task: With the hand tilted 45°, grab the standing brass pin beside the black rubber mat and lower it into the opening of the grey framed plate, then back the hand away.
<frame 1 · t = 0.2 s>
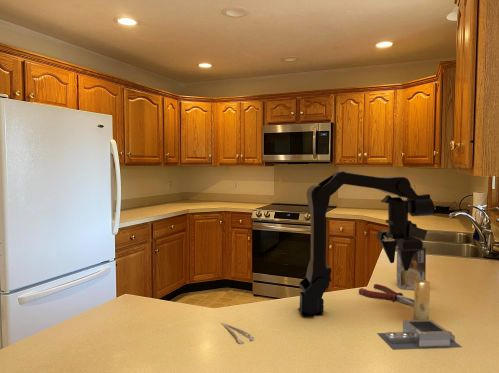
hand: (398, 266, 113), 14 cm above the worktop, tool pointing down, fingers open, 9 cm apart
coffee box: (410, 287, 139), on the worktop
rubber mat: (417, 342, 93), on the worktop
tweezers: (230, 332, 100), on the worktop
pliers: (386, 300, 126), on the worktop
brass pin: (421, 324, 105), on the worktop
grey framed plate: (425, 339, 94), resting on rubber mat
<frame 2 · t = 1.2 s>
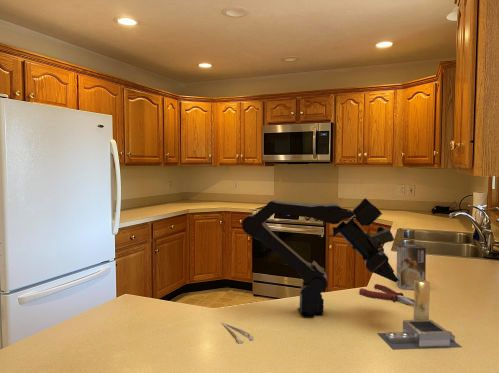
hand: (394, 276, 106), 13 cm above the worktop, tool tilted 45°, fingers open, 9 cm apart
nothing on the worktop moved.
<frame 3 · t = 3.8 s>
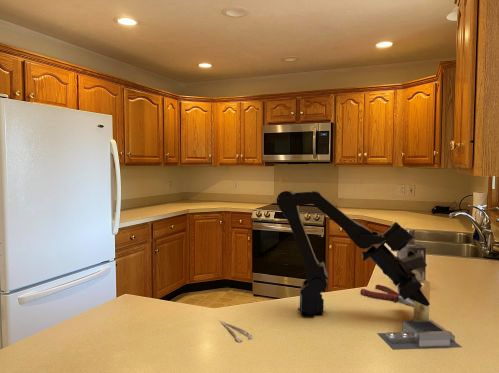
hand: (426, 302, 104), 7 cm above the worktop, tool tilted 45°, fingers closed on brass pin, 4 cm apart
brass pin: (421, 324, 105), on the worktop, touching gripper
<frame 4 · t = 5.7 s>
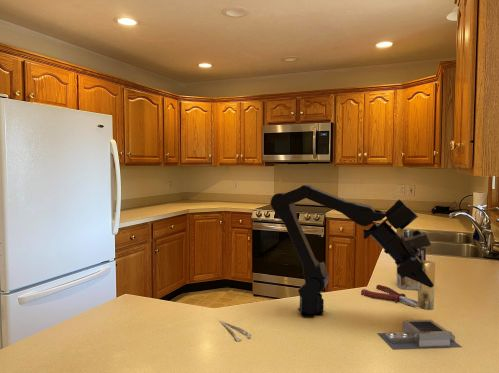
hand: (432, 284, 98), 14 cm above the worktop, tool tilted 45°, fingers closed on brass pin, 4 cm apart
brass pin: (425, 307, 99), point 7 cm above the worktop, touching gripper
when the fingers open (8 cm above the worktop, at t = 7.8 s): brass pin drops 1 cm, resting on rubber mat.
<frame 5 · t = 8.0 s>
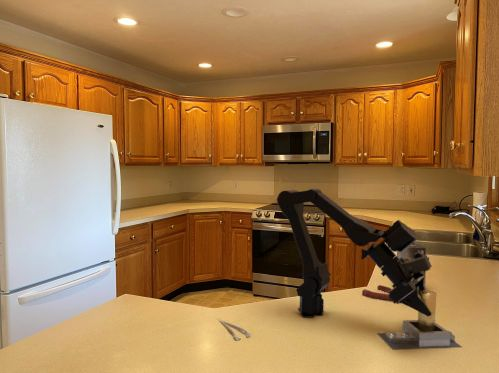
hand: (432, 311, 93), 8 cm above the worktop, tool tilted 45°, fingers open, 6 cm apart
brass pin: (425, 339, 94), point 1 cm above the worktop, touching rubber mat
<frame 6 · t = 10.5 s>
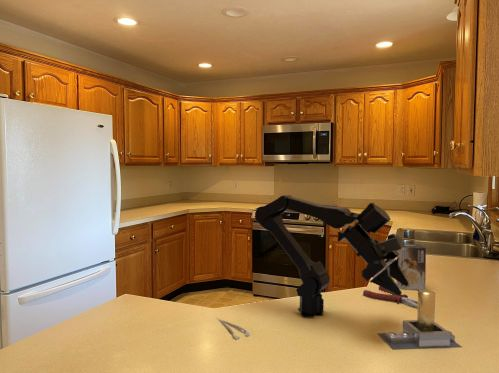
hand: (404, 289, 96), 13 cm above the worktop, tool tilted 45°, fingers open, 9 cm apart
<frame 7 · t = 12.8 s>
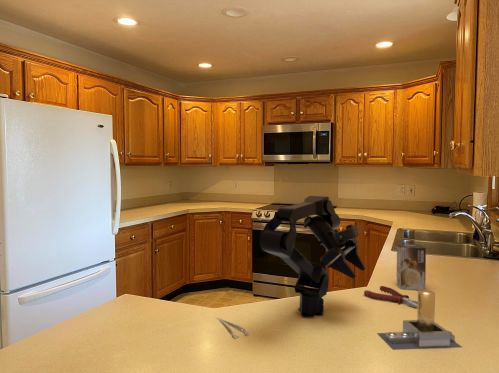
hand: (359, 273, 108), 14 cm above the worktop, tool tilted 45°, fingers open, 9 cm apart
at the end: brass pin 0.0 cm from the grey framed plate (horizontally); brass pin point 0.6 cm above the worktop; brass pin tilted 0° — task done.
